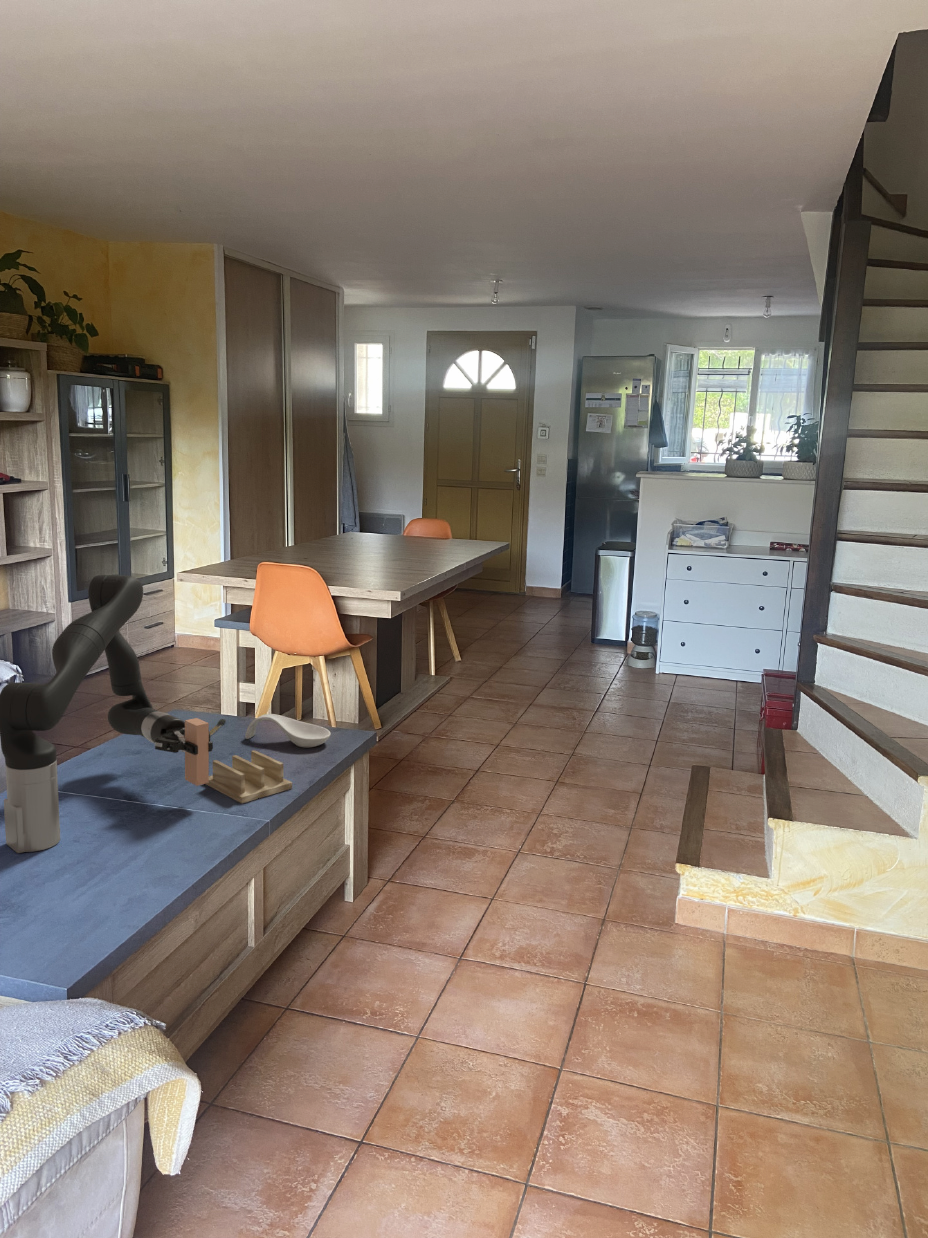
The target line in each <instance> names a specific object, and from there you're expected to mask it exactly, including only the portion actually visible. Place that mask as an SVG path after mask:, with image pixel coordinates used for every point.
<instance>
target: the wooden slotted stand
mask: <svg viewBox="0 0 928 1238" xmlns="http://www.w3.org/2000/svg"><path fill="white" fill-rule="evenodd" d="M250 752H251V753H250V754H251V755H250V757H251V761H249V760H247V759H245V758H243V757H241V756H239V755H236V754H235V755H232V756H231V758H232V759H231V760H232V761H231V763H232V764H231V766H232V767H231V766H229V765H227V764H225V763H224V762H221V761H220V760H217V759H215V760H212V774H211V775H209V783H206V784H205V785H206V786H208V787H209V788H211V789H213V790H216V791H218V792H220V793H221V794H223V795H225V796H227V797H229V798H231V799H232V800H234V801H236V802H238V803H240V804H244V803H249V802H253V801H255V800H259V799H261V798H265V797H268V796H272V795H274V794H278V793H282V792H284V791H288V790H291V789H293V782H292V781H290V780H288V779H287V778H284V762H281V761H279V760H277V759H274V758H273V757H270V756H269V755H266V754H264V753H261V752H260V751H257V750H254V749H253V750H251V751H250ZM258 798H259V799H258Z"/></svg>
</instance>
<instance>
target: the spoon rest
mask: <svg viewBox="0 0 928 1238" xmlns="http://www.w3.org/2000/svg"><path fill="white" fill-rule="evenodd" d="M263 721H271V722H273V723H275V724H276V725H277V726H278V727H279V728H280V729H281V731H282V732H283V733H284V734H285V736H286V737H287V738H288V739H289V740H290V742H291V743H293V744H294V745H296V746H297V747H299V748H314V747H317V746H318V747H319V746H320V745H323V744H324V743H325V742H327V741H328V740H329V738H330V737H331V731H330V730H329V729H327V728H325V727H322V726H321V725H316V724H313V723H309V722H304V721H301V720H297V719H294V718H290V717H287V716H284V715H282V714H281V715H279V714H274V713H267V714H266V713H265V714H262V715H260V716H258V717H257V718H255V719H253V720H252V721H251V722H249V725H247V729H246V731H245V737H244V738H245V739H246V740H249V739H251V738H252V737H254V736H255V735H256V728H257V725H258V724H259V723H261V722H263Z"/></svg>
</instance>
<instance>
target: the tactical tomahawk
mask: <svg viewBox="0 0 928 1238" xmlns="http://www.w3.org/2000/svg"><path fill="white" fill-rule="evenodd" d="M225 723H226V719H223V718H221V719H220V720H218V721H217V724H216V725H214V726H213V728H211V730H209V732H210V738H211V737H212V736H213V735H214V734H215V733H216V732H217V731H218V730H219V728H220V727H221V726H222V727H223V726H224V724H225ZM222 727H221V728H222ZM221 728H220V729H221ZM215 731H216V732H215ZM213 733H214V734H213ZM211 735H212V736H211Z"/></svg>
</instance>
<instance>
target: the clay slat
mask: <svg viewBox="0 0 928 1238" xmlns="http://www.w3.org/2000/svg"><path fill="white" fill-rule="evenodd" d="M184 722H185V739H186V740H187V742H188V741H189V742H191V743H194V744H196V745H197V746H198V754H197V755H193V754H191V753H189V752H184V780H185V781H187V782H189V783H191V784H193V785H195V786H196V787H198V786H202V785H204V784H205V785H206V783H209V776H210V775H209V772H210V770H209V769H210V768H209V766H210V764H209V761H210V759H209V758H210V757H209V755H210V752H208V742H209V732H210V730H209V728H210V727H209V724H210V723H209V722H207V721H204V720H202V719H200V718H198V717H195V718H190V719H185V720H184Z"/></svg>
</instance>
